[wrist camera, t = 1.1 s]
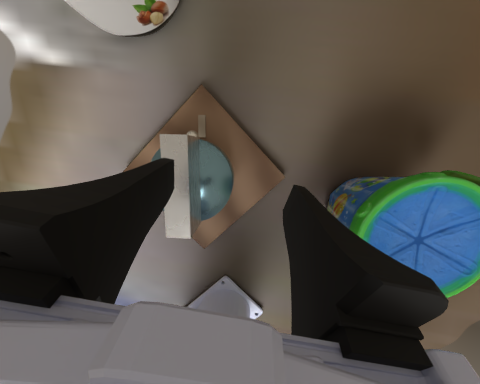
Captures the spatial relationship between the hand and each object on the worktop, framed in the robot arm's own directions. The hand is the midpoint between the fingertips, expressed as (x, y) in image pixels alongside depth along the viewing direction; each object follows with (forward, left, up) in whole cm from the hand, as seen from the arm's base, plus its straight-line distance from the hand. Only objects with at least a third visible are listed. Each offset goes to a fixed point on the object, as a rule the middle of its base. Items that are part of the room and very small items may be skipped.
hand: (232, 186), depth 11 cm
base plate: (-4, +3, -12) cm, 13 cm away
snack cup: (+7, -13, -13) cm, 20 cm away
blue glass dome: (-4, +3, -9) cm, 10 cm away
